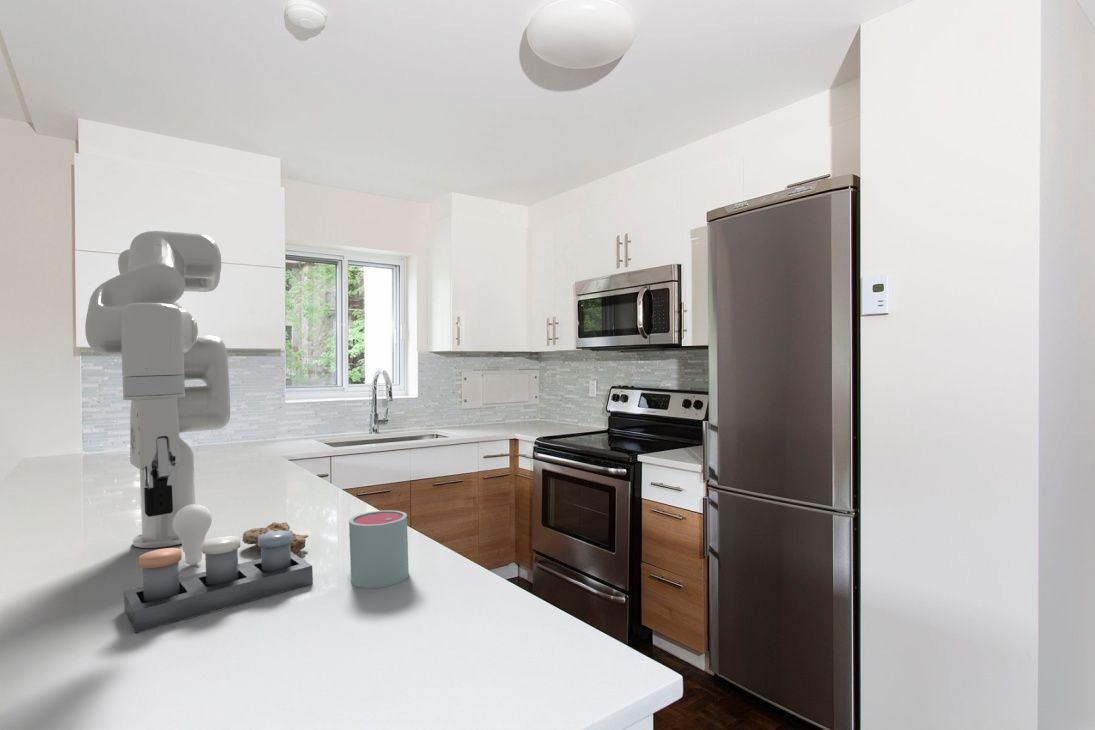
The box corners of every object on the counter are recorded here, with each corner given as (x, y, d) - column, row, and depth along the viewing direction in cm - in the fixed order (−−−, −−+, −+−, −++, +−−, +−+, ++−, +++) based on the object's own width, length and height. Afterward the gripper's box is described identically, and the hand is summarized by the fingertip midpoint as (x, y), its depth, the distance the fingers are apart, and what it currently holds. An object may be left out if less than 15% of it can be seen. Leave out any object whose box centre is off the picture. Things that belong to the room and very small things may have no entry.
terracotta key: (137, 595, 87) (136, 553, 87) (178, 586, 90) (177, 545, 90) (143, 606, 83) (142, 562, 83) (186, 595, 86) (184, 553, 86)
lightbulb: (195, 572, 103) (193, 509, 103) (165, 570, 104) (163, 508, 104) (221, 560, 109) (219, 501, 109) (192, 558, 110) (190, 500, 110)
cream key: (199, 580, 92) (198, 541, 92) (236, 572, 96) (234, 534, 95) (207, 590, 88) (206, 548, 88) (245, 580, 92) (244, 540, 92)
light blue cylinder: (254, 572, 97) (253, 535, 97) (287, 564, 101) (286, 528, 101) (264, 581, 94) (263, 542, 93) (298, 572, 97) (297, 535, 97)
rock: (335, 532, 115) (292, 535, 107) (330, 559, 115) (286, 564, 106) (281, 518, 124) (236, 519, 115) (276, 542, 123) (231, 546, 115)
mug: (419, 575, 99) (417, 516, 99) (369, 592, 92) (367, 529, 92) (375, 558, 108) (374, 503, 108) (327, 572, 101) (325, 514, 101)
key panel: (124, 610, 88) (123, 590, 88) (291, 568, 104) (290, 551, 104) (134, 633, 80) (134, 611, 80) (312, 583, 96) (312, 565, 96)
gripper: (116, 389, 89) (120, 510, 89) (130, 391, 78) (135, 529, 78) (174, 386, 94) (178, 501, 94) (195, 388, 83) (200, 518, 83)
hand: (159, 513), depth 86 cm, fingers closed
